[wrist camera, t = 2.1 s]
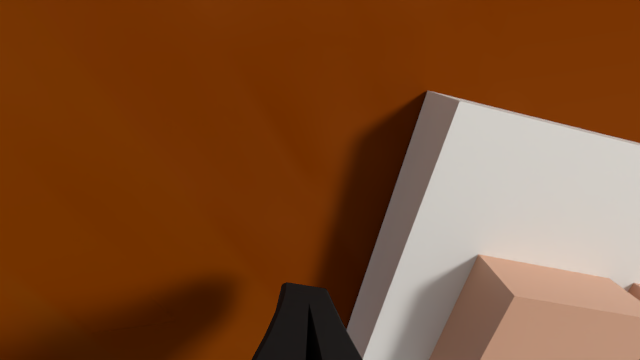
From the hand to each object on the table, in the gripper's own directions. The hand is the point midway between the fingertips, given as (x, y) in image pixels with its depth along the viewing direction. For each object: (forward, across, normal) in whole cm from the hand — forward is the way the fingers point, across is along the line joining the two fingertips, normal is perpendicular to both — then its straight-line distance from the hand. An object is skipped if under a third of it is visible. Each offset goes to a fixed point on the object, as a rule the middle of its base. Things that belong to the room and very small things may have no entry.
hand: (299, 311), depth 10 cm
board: (+3, -11, 0) cm, 11 cm away
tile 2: (+1, -8, 0) cm, 8 cm away
